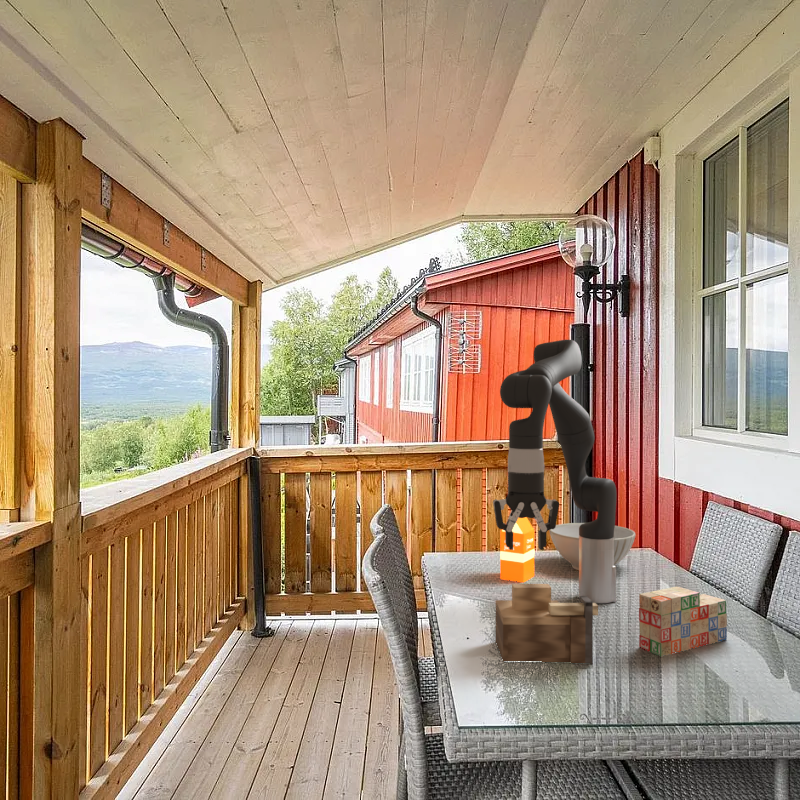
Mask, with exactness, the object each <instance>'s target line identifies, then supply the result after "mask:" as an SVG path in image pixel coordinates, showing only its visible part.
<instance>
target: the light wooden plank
mask: <svg viewBox="0 0 800 800" xmlns="http://www.w3.org/2000/svg"><path fill="white" fill-rule="evenodd" d="M548 612H549V614H550V615H584V604H583V603H580V602H559V603H548ZM593 616H599V605H598V603H593Z"/></svg>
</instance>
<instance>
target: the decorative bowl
mask: <svg viewBox="0 0 800 800" xmlns="http://www.w3.org/2000/svg"><path fill="white" fill-rule="evenodd" d="M584 523H585V522H571V523H568V522H567V523H561V524H560V523H559V524H556V527H555V528H554V529H550V530H548V532H549V535H550V538H551V541H552V543H553V545H554V548H555V549H556V550H557V552H558V553H559V555H560V556H561V557H562V558H563V559H564V560H566V562H568V563H570V564H571V567H572V568H573V569H575V570H577V571H579V527H580V525H582V524H584ZM635 538H636V532H635V531H634V530H633V529H630V528H627V527H624V526H618V525H615V528H614V565H615V566H616V565H617V564H619V563H620V562H621V561H622V560H624V558H625V557H627V555H628V554H629V552H630V550H631V549H632V546H633V545H634V542H635Z"/></svg>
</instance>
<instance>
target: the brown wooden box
mask: <svg viewBox="0 0 800 800" xmlns="http://www.w3.org/2000/svg"><path fill="white" fill-rule="evenodd" d="M579 603H583V604H584V615H569V617H570V625H503V623H502V621H501V618H500V616H499V614H498V611H497V609H496V608H495V644H496V643H497V645H496V647H497V646H498V647H497V650H498V649H499V650H498V652H499V651H500V653H499V655H500V654H501V655H500V657H502V658H501V660H502V659H503V661H542V662H571V663H591V664H590V665H593V663H594V662H593V657H594V656H593V648H594V647H593V646H594V645H593V643H594V642H593V638H594V637H593V634H594V632H593V628H594V627H593V626H594V625H593V624H594V623H593V622H594V621H593V620H594V619H593V616H594V615H593V602H592V601H591V600H590V599H589V598H588V597H587V596H580V598H579ZM503 661H502V662H503ZM571 663H570V664H571Z"/></svg>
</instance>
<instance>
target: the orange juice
mask: <svg viewBox="0 0 800 800" xmlns="http://www.w3.org/2000/svg"><path fill="white" fill-rule="evenodd" d="M512 532H513V550H509V547H507V546H506V543H505V530H502V529H500V533H499V534H500V541H499V542H500V544H499V546H500V549H499V550H500V552H499V553H500V557H499V559H500V560H499V561H500V564H499V565H500V568H499V569H500V571H499V572H500V580H504V581H509V580H510V581H511V582H516V581H517V583H521V584H525V582H527V581H529V580H531V579H532V578H534V577H535V553H536V552H535V528H534V527H533V526H532V523H531V522H530V520H529V519H528V517H525V518H518V520H517V522H516V523H515V525H514V527H513V529H512Z"/></svg>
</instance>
